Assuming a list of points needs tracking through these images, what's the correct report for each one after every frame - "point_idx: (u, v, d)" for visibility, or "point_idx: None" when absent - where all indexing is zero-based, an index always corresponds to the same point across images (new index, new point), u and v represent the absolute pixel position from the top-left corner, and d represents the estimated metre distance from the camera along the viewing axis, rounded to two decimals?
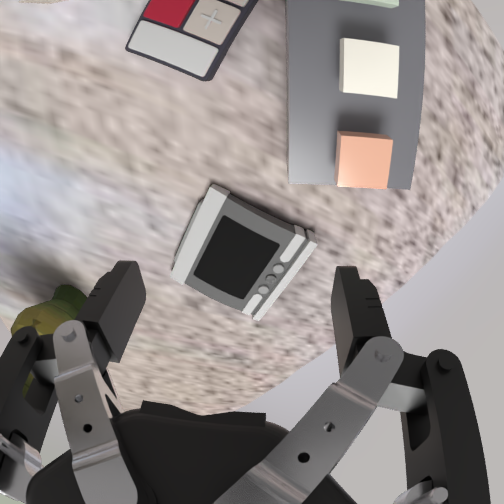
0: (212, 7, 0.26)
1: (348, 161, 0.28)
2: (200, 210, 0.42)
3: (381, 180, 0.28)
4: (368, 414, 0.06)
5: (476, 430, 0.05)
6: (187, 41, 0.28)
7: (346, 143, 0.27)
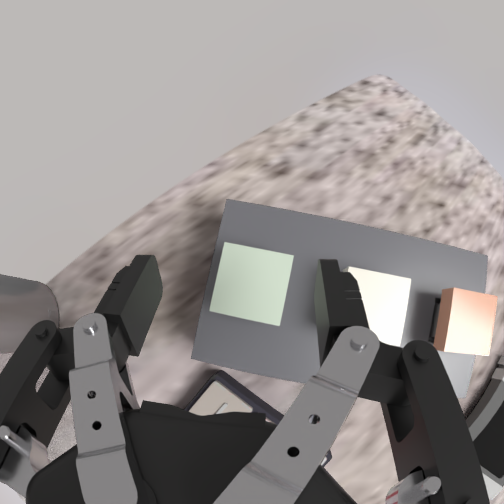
0: None
1: (469, 343, 0.20)
2: None
3: (489, 302, 0.20)
4: (351, 403, 0.06)
5: (461, 417, 0.06)
6: None
7: (452, 345, 0.20)
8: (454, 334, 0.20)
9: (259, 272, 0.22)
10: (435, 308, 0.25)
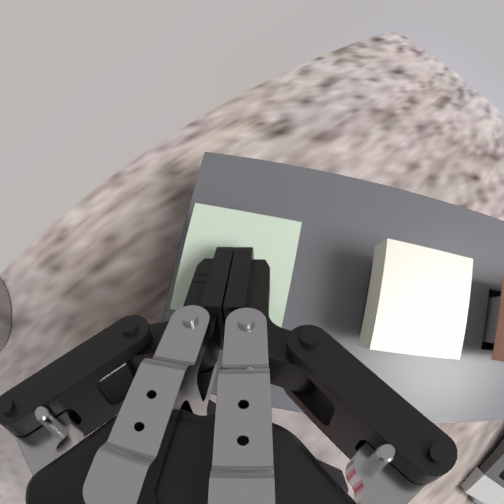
0: None
1: None
2: (482, 500, 0.17)
3: None
4: (268, 376, 0.07)
5: (378, 380, 0.07)
6: None
7: None
8: None
9: None
10: None
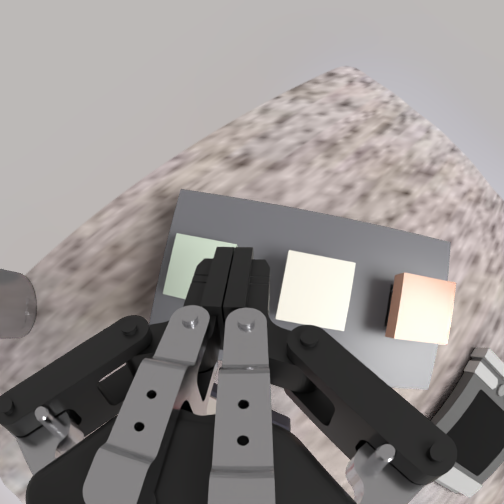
0: None
1: (423, 330, 0.21)
2: None
3: (446, 289, 0.22)
4: (268, 376, 0.07)
5: (378, 380, 0.07)
6: None
7: (403, 332, 0.21)
8: (405, 321, 0.21)
9: None
10: (391, 295, 0.26)
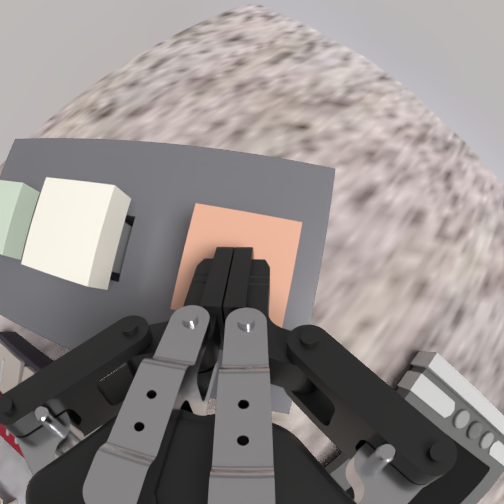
0: None
1: None
2: None
3: (280, 232, 0.14)
4: (268, 376, 0.07)
5: (378, 380, 0.07)
6: None
7: None
8: None
9: None
10: None
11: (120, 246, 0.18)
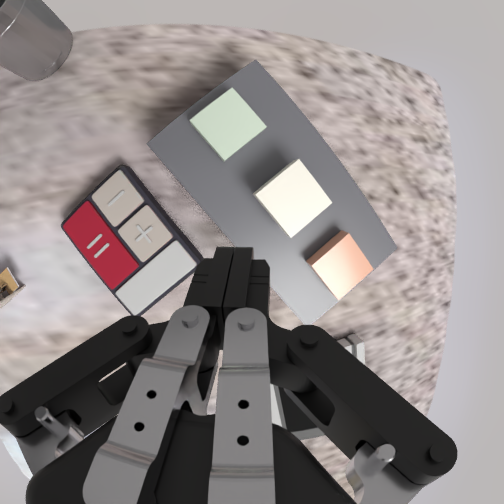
0: (133, 227, 0.34)
1: (331, 277, 0.32)
2: None
3: (365, 267, 0.32)
4: (268, 376, 0.07)
5: (378, 380, 0.07)
6: (156, 263, 0.35)
7: (319, 267, 0.31)
8: (326, 262, 0.31)
9: (238, 120, 0.27)
10: None
11: None
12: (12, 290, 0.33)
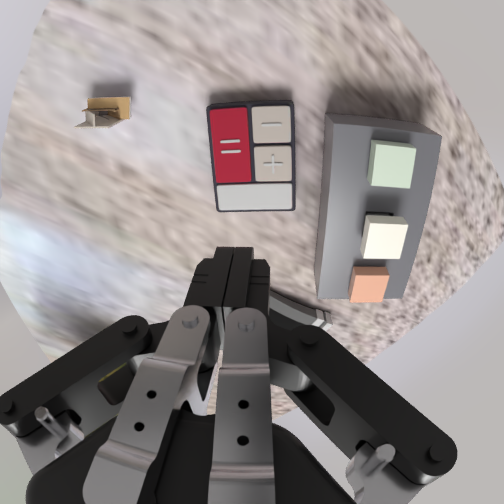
0: (268, 154, 0.39)
1: (358, 289, 0.43)
2: None
3: (379, 297, 0.44)
4: (268, 376, 0.07)
5: (378, 380, 0.07)
6: (265, 188, 0.42)
7: (358, 279, 0.42)
8: (364, 279, 0.42)
9: (400, 170, 0.33)
10: None
11: None
12: (120, 117, 0.37)
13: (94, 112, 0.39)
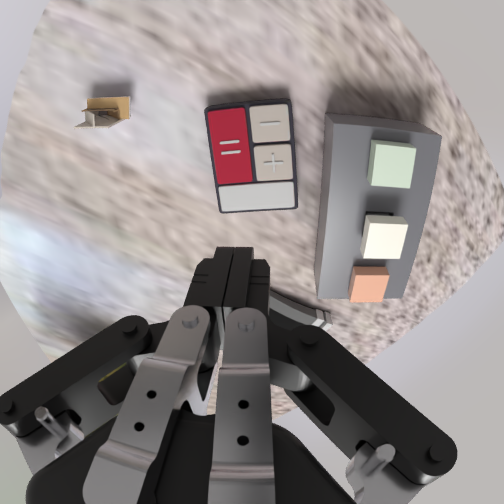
0: (268, 153, 0.39)
1: (358, 289, 0.43)
2: None
3: (379, 297, 0.44)
4: (268, 376, 0.07)
5: (378, 380, 0.07)
6: (266, 187, 0.42)
7: (358, 279, 0.42)
8: (364, 279, 0.42)
9: (400, 170, 0.33)
10: None
11: None
12: (120, 117, 0.37)
13: (94, 112, 0.39)
